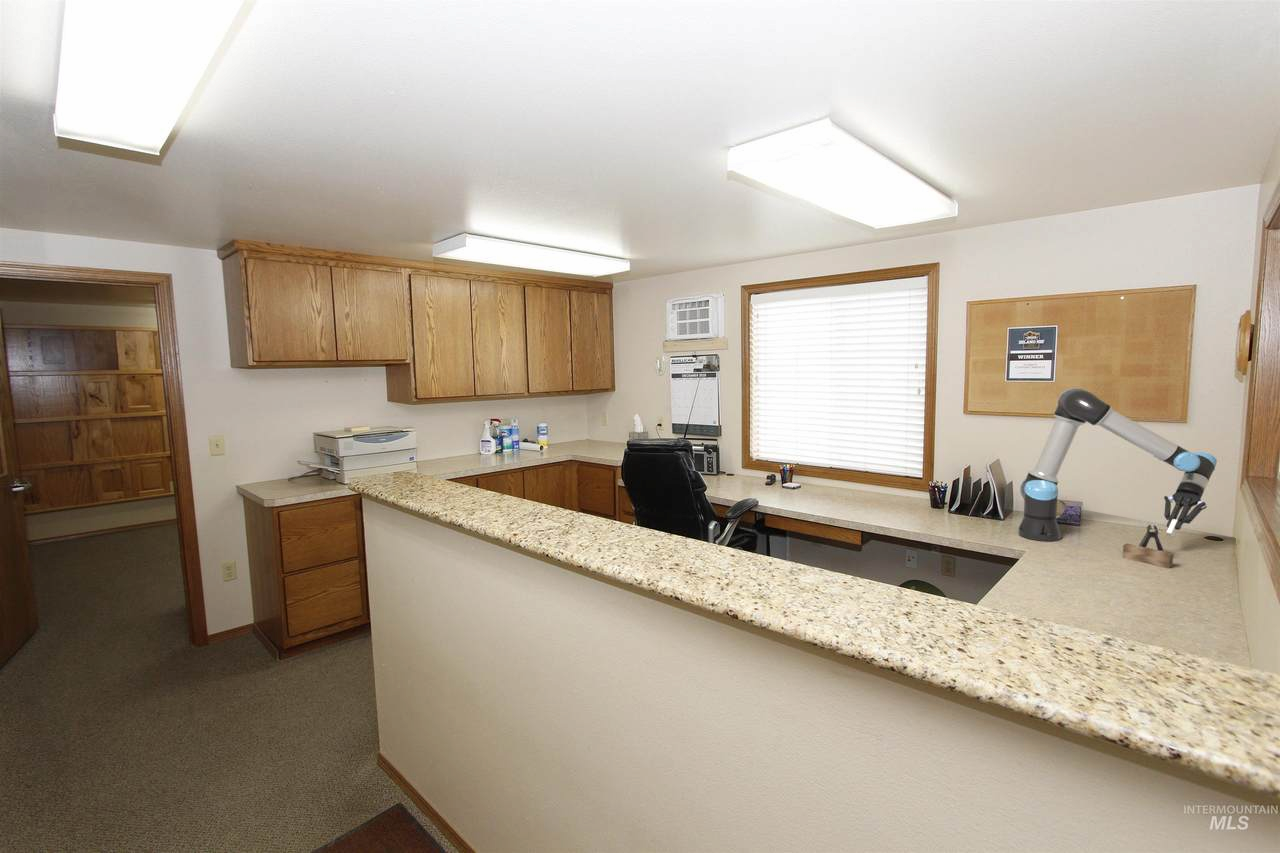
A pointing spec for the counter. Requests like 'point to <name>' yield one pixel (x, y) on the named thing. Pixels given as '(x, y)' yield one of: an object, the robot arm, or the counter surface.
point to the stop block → (1148, 555)
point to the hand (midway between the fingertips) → (1169, 534)
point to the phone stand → (1150, 535)
